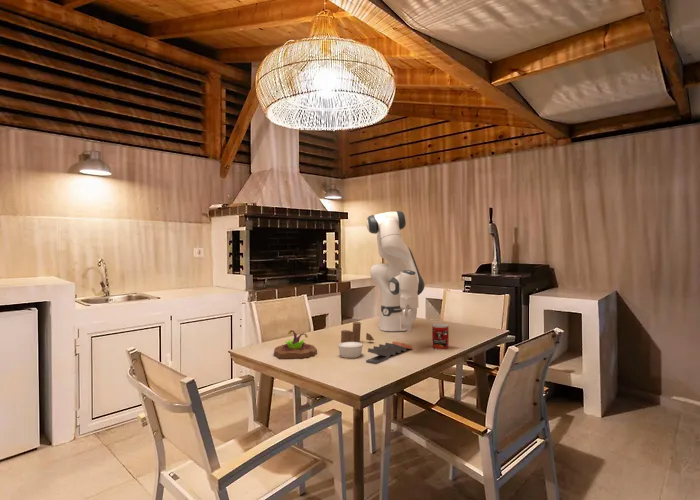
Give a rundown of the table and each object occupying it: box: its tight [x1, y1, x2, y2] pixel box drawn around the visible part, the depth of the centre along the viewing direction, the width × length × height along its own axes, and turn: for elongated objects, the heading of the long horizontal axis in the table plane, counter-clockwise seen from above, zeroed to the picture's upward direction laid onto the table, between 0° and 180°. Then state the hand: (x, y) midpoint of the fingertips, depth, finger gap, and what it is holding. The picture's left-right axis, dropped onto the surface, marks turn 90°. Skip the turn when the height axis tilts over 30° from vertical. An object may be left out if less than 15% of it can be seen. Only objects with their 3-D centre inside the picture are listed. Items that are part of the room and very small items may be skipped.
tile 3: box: [372, 345, 397, 356], centre depth 186 cm, size 2×5×10 cm
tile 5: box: [365, 355, 389, 365], centre depth 179 cm, size 2×5×10 cm
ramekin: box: [337, 342, 363, 359], centre depth 188 cm, size 11×11×5 cm
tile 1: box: [384, 342, 407, 353], centre depth 192 cm, size 2×5×10 cm
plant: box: [273, 329, 318, 360], centre depth 195 cm, size 20×20×11 cm
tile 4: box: [367, 347, 392, 358], centre depth 182 cm, size 2×5×10 cm
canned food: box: [431, 323, 450, 350], centre depth 201 cm, size 8×8×11 cm
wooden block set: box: [340, 321, 375, 343], centre depth 212 cm, size 18×9×10 cm, turn 127°
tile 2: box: [378, 343, 402, 354], centre depth 189 cm, size 2×5×10 cm
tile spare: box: [391, 341, 414, 350], centre depth 196 cm, size 2×5×10 cm
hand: (409, 332), depth 201 cm, fingers closed
